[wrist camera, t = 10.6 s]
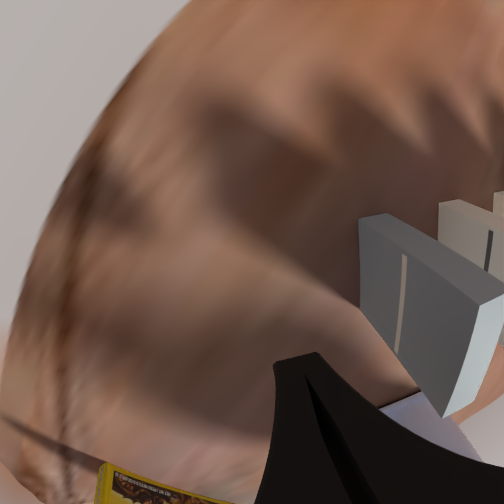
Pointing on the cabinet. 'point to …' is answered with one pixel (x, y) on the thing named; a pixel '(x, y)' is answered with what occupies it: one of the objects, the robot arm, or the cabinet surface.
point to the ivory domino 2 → (498, 203)
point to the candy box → (140, 490)
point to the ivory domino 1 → (474, 237)
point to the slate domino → (429, 309)
